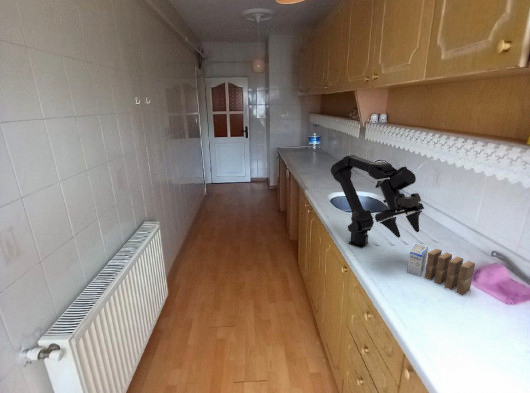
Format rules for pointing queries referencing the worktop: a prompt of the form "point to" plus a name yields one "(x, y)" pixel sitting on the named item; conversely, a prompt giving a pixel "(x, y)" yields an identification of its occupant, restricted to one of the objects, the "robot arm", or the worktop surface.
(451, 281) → the walnut domino
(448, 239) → the worktop surface
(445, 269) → the walnut domino
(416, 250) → the medicine box
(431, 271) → the walnut domino
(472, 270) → the walnut domino
